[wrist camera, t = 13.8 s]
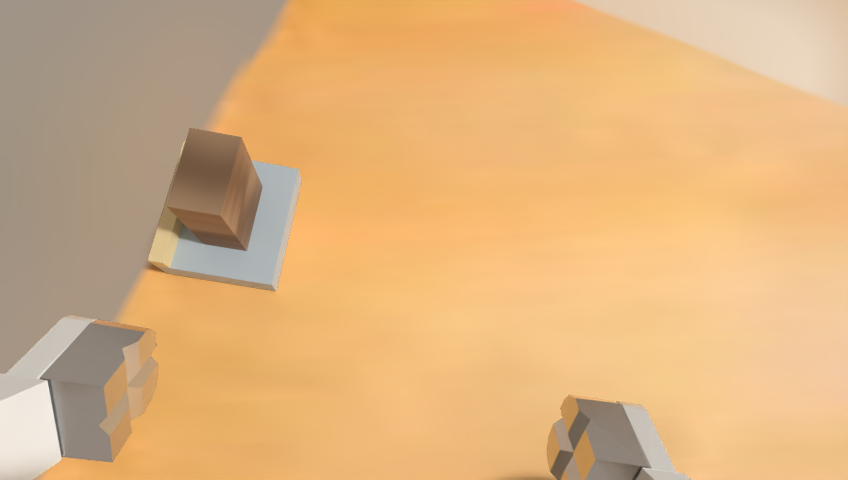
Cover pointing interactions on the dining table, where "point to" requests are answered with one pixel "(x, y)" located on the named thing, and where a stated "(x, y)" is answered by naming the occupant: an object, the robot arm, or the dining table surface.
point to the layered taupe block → (216, 189)
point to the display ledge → (248, 268)
